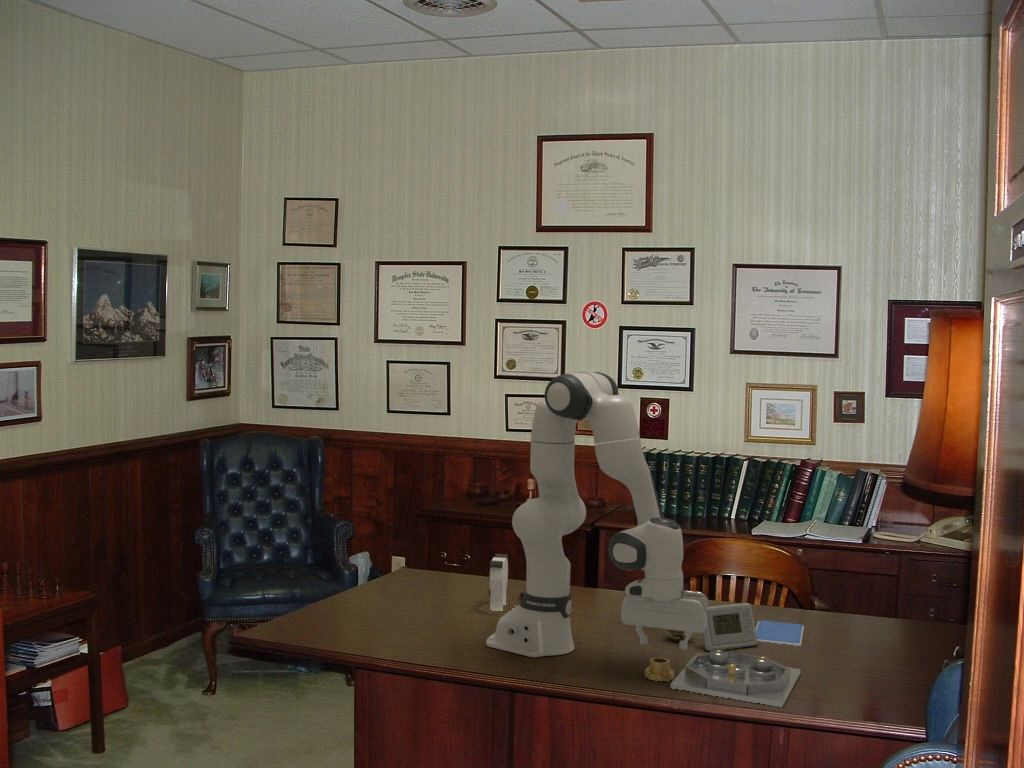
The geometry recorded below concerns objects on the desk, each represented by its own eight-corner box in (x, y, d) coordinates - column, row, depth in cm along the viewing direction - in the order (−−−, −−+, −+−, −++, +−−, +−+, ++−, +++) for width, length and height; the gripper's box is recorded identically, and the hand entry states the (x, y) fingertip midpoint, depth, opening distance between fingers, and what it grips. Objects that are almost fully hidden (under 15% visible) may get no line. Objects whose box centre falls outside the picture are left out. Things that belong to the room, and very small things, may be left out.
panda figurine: (482, 602, 308) (483, 551, 307) (520, 604, 307) (521, 554, 306) (475, 613, 296) (476, 560, 295) (514, 615, 295) (516, 563, 294)
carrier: (670, 688, 238) (671, 664, 238) (697, 658, 261) (698, 635, 261) (782, 707, 228) (783, 682, 228) (800, 674, 251) (801, 650, 250)
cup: (691, 645, 271) (692, 614, 271) (662, 642, 273) (663, 612, 272) (692, 637, 279) (693, 607, 278) (664, 634, 280) (665, 605, 280)
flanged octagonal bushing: (642, 678, 244) (642, 662, 244) (650, 670, 250) (650, 654, 250) (668, 683, 242) (669, 666, 241) (676, 675, 247) (676, 658, 247)
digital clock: (704, 653, 265) (705, 611, 265) (691, 642, 274) (692, 602, 274) (763, 650, 269) (765, 609, 268) (748, 640, 278) (750, 600, 277)
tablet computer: (801, 648, 273) (801, 643, 273) (751, 643, 276) (752, 638, 276) (804, 629, 291) (804, 624, 291) (757, 624, 295) (758, 619, 295)
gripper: (711, 589, 243) (710, 648, 244) (626, 581, 251) (626, 638, 252) (704, 595, 237) (704, 655, 238) (618, 587, 246) (618, 645, 246)
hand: (663, 646), depth 245 cm, fingers open, 8 cm apart
